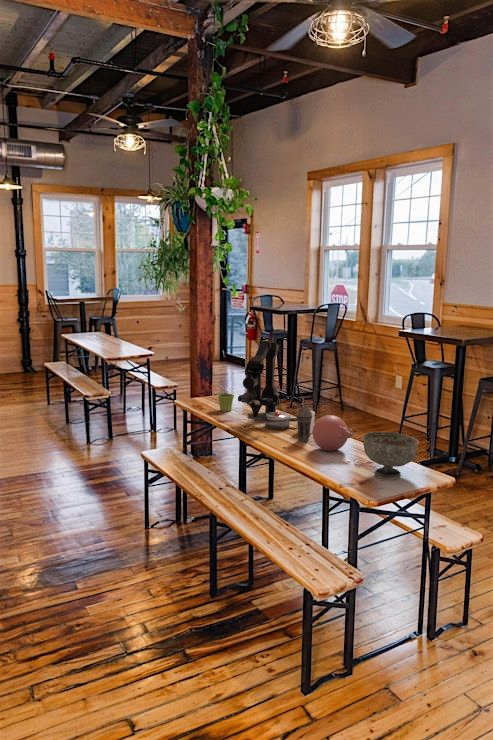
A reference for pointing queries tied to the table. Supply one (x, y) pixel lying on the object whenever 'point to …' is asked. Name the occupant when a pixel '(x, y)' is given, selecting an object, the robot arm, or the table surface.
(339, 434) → the balloon
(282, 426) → the pot
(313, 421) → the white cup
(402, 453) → the bowl
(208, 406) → the table surface
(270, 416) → the lid
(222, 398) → the plant pot
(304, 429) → the beverage cup
